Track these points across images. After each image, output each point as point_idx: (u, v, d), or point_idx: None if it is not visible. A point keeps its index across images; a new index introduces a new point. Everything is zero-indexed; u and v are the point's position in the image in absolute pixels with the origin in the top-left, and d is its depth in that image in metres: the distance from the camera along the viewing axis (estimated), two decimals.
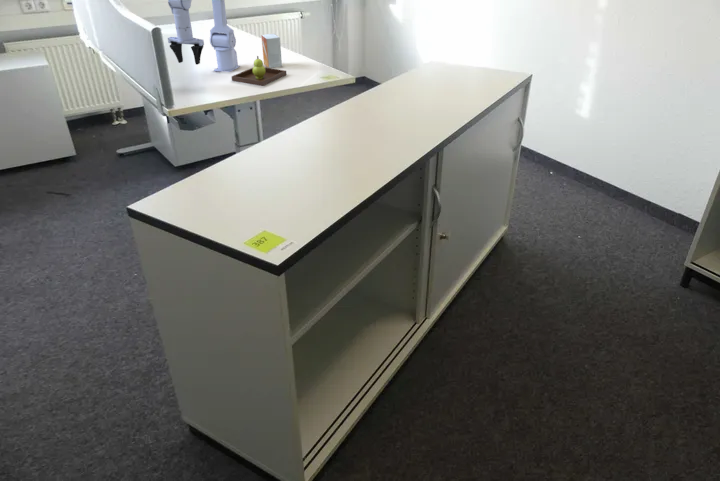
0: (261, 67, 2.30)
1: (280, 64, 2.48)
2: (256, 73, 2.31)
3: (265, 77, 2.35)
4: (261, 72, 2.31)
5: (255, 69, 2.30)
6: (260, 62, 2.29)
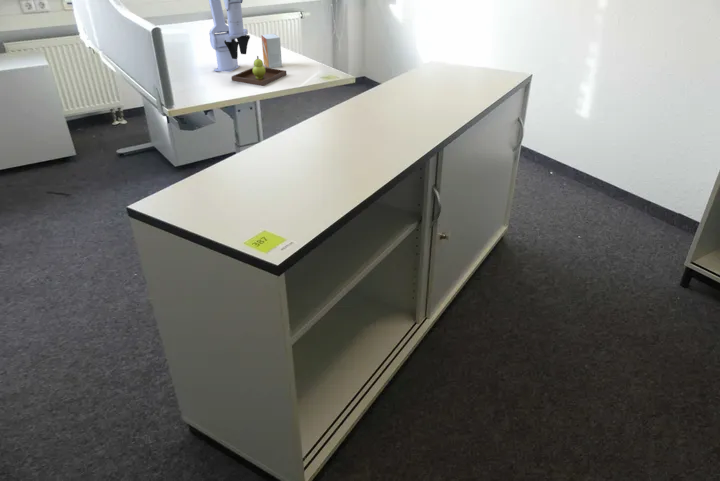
0: (261, 67, 2.30)
1: (280, 64, 2.48)
2: (256, 73, 2.31)
3: (265, 77, 2.35)
4: (261, 72, 2.31)
5: (255, 69, 2.30)
6: (260, 62, 2.29)
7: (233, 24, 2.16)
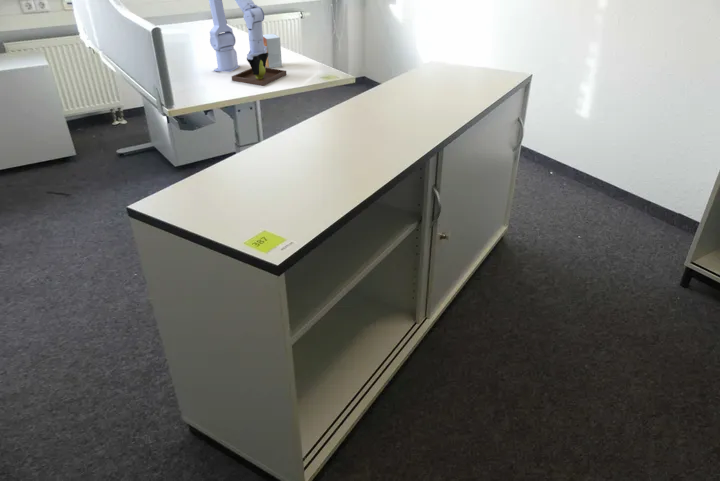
0: (261, 67, 2.30)
1: (280, 64, 2.48)
2: None
3: (265, 77, 2.35)
4: (261, 72, 2.31)
5: None
6: (260, 62, 2.29)
7: (254, 42, 2.24)
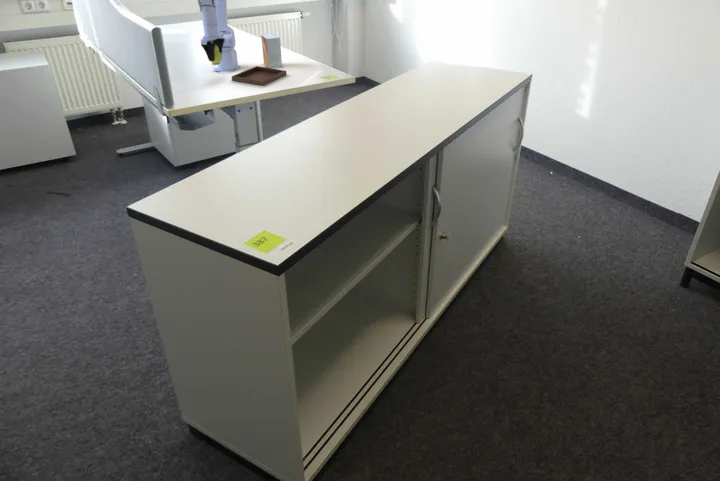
0: (217, 53, 2.23)
1: (280, 64, 2.48)
2: None
3: (265, 77, 2.35)
4: (217, 58, 2.23)
5: None
6: (215, 48, 2.22)
7: (208, 27, 2.16)
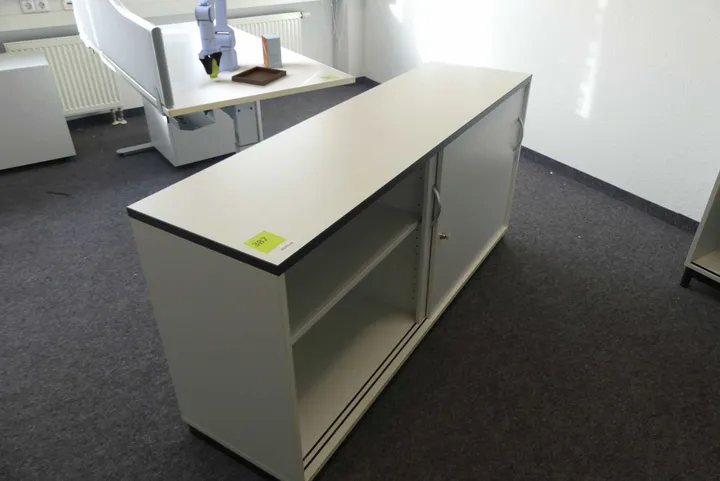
0: (214, 66, 2.25)
1: (280, 64, 2.48)
2: None
3: (265, 77, 2.35)
4: (214, 71, 2.26)
5: None
6: (213, 61, 2.24)
7: (206, 41, 2.19)
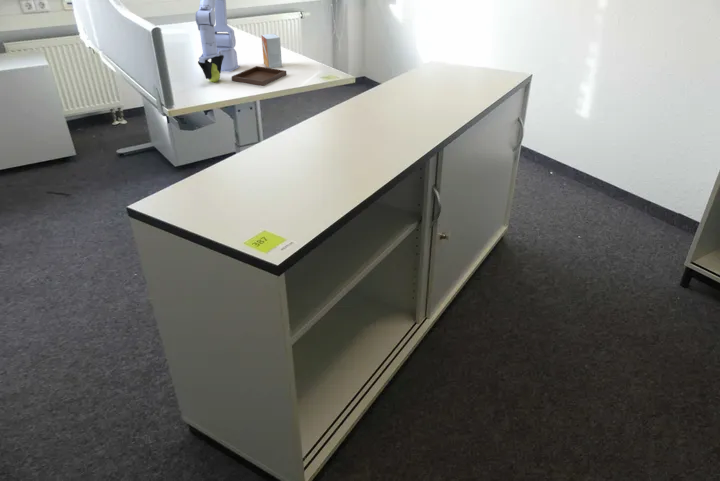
0: (215, 71, 2.26)
1: (280, 64, 2.48)
2: None
3: (265, 77, 2.35)
4: (215, 76, 2.27)
5: None
6: (214, 66, 2.26)
7: (206, 45, 2.19)
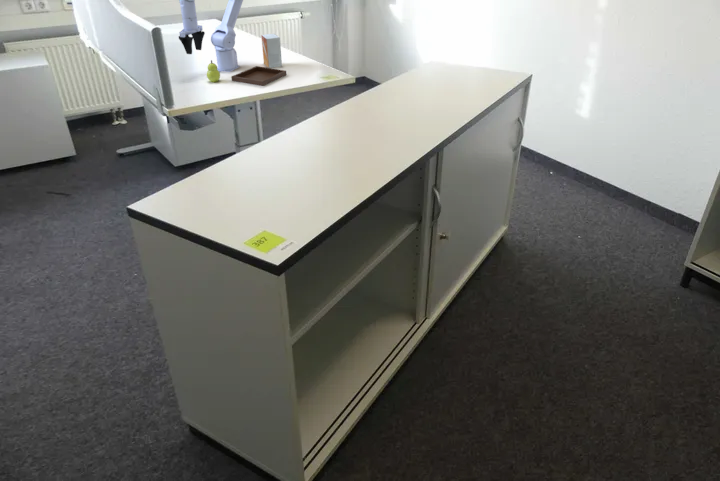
0: (215, 71, 2.26)
1: (280, 64, 2.48)
2: (210, 77, 2.27)
3: (265, 77, 2.35)
4: (215, 76, 2.27)
5: (209, 73, 2.26)
6: (214, 66, 2.26)
7: (187, 20, 2.22)
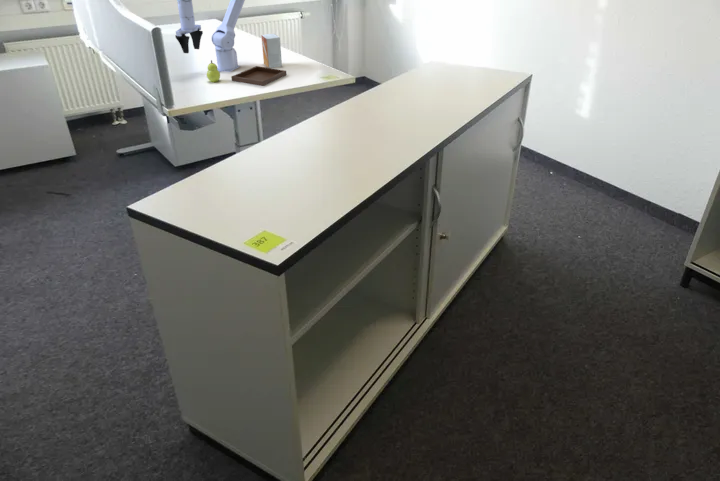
0: (215, 71, 2.26)
1: (280, 64, 2.48)
2: (210, 77, 2.27)
3: (265, 77, 2.35)
4: (215, 76, 2.27)
5: (209, 73, 2.26)
6: (214, 66, 2.26)
7: (184, 19, 2.23)
